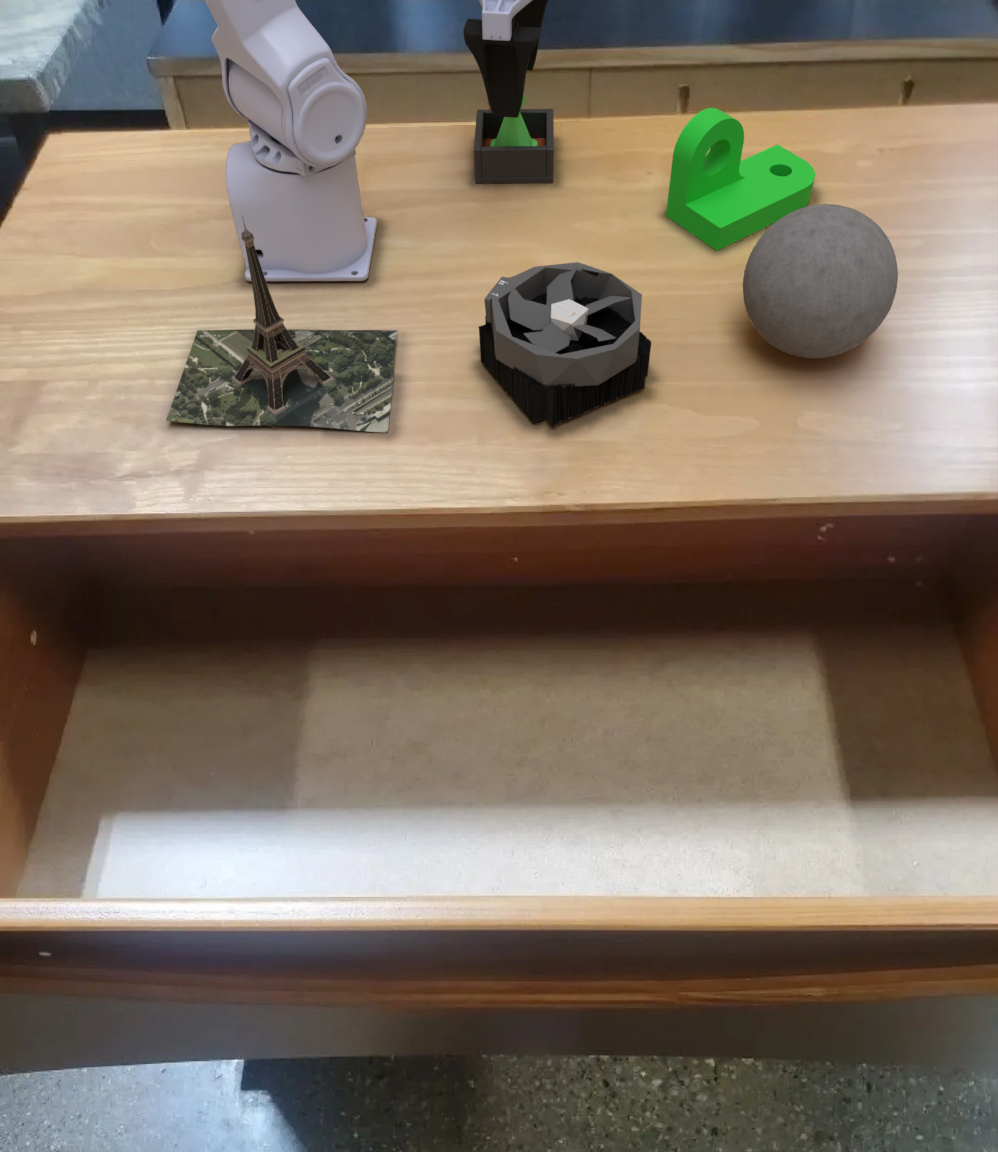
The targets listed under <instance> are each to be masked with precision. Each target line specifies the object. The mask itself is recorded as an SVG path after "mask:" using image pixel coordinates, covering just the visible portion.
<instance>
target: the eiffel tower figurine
mask: <svg viewBox="0 0 998 1152" xmlns="http://www.w3.org/2000/svg"><path fill="white" fill-rule="evenodd" d="M242 219H243V223H244V227H245V229H244V231H243V232H242V233H241V235H242V237H241V239H242V240H243V241H244V243H245V247H246V252H247V258H248V264H249V269H250V275H251V281H250V282H251V287H252V293H253V301H254V310H255V315H254V316H255V317H254V318H253V320H252V322H253V323H254V329H253V328H252V329H206V330H205V329H198V330H196V334H195V336H194V339H193V342H192V345H191V348H190V351H189V353H188V357H187V359H186V362H185V365H184V368H183V370H182V374H181V376H180V380H179V382H178V385H177V388H176V390H175V394H174V397H173V399H172V403H171V405H170V408H169V410H168V414H167V417H166V419H165V421H166V422H175V423H185V424H196V425H206V426H220V427H221V426H222V427H246V426H247V427H248V426H250V427H252V426H270V427H272V428H277V426H286V427H287V426H288V427H289V426H291V427H292V426H294V427H295V426H296V427H310V428H311V427H312V428H325V429H336V430H347V431H357V432H367V433H368V432H369V433H370V432H371V433H383V434H388V432H389V423H390V414H391V406H392V397H393V390H394V389H393V387H394V372H395V370H394V368H395V352H396V344H397V334H398V329H397V330H396V329H395V330H394V329H338V330H337V329H287V327H286V326H285V324H284V322H285V319H284V318H283V317H281V316H280V314H279V312H278V310H277V308H276V305H275V303H274V300H273V298H272V294H271V292H270V289H269V286H268V284H267V281H266V280H265V277H264V274H263V271H262V268H261V265H260V262H259V259H258V256H257V253H256V250H255V246H254V242H253V241H254V237H253V234H252V233H251V232H250V231H248V230H247V229H246V226H245V222H244V218H243V215H242Z"/></svg>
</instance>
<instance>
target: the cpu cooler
mask: <svg viewBox="0 0 998 1152" xmlns="http://www.w3.org/2000/svg"><path fill="white" fill-rule="evenodd" d="M483 299H484V307H485V308H484V309H485V316H484V319H485V321H484V322H485V324H482V325H480V326H478V334H479V352H480V363H482V365H483V366H484V367H485V369H487V371H488V372H489V373H490V375H491V376H492V377H493V378H494V379H495V380H496V382H497V383H498V384H499V385H500V386H501V387H502V389H503V390H504V391H505V392H506V393H507V394H508V395H509V396H510V398H511V399H512V400H513V402H514V404H516V405H517V407H519V409H520V410H521V411H522V412H523V413H524V414H525V415H526V417H527V418H528V419H529V420H530V421H531V423H532V424H534V423H538V422H541V421H544V420H546V421H547V422H548V424H549V425H550V427H551V428H554V427H556V426H559V425H560V424H561V423H562V424H563V423H566V422H567V421H569V420H570V419H571V420H573V419H576V418H578V417H579V416H582V415H585V414H586V413H589V412H592V411H594V410H596V409H598V408H601V407H603V406H605V404H606V405H607V404H611V403H613V402H615V401H617V400H618V399H619V400H620V399H623V398H625V397H628V396H630V395H632V394H634V393H637V392H639V391H642V390H645V385H646V384H645V383H646V378H647V377H648V374H649V366H650V358H651V348H652V340H650V339H649V338H648V337H647V335H645V334H644V333H643V331H641V318H642V300H643V294H642V293H641V292H639V291H638V290H636V289H635V288H633V287H632V286H631V285H629V284H628V283H626V282H625V281H623V280H622V279H620V278H619V277H618V276H616V275H615V274H613V273H611V272H608V271H605V270H601V269H599V268H598V267H597V268H596V267H593V266H592V265H591V266H590V265H588V264H585V263H581V262H578V261H577V262H568V263H567V262H566V263H557V264H556V263H555V264H548V265H539V266H533V267H530V268H528V269H526V270H524V271H522V272H520V273H517V274H516V275H513V276H510V277H507V276H501V277H500V278H499V279H498V281H497V282H496V283H495V284H494V286H493V287H492V288H491V289H490V290H489V292H488V294H487V295H486V296H485V297H484V298H483Z"/></svg>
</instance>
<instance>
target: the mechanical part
mask: <svg viewBox="0 0 998 1152" xmlns="http://www.w3.org/2000/svg"><path fill="white" fill-rule="evenodd" d="M744 143H745V131H744V127H743V125H742V123H741V122H740V121H739V120H737V119H736V118H735V117H732V116H731V115H729V114H727V113H726V112H724V111H723V110H720V109H719V108H716V107H707V108H704V109H702V110H701V111H698V113H696V114H694V116H692V118H691V119H690V120H688V121H687V123H686V124H685V125H684V127H683V128H682V130H681V132H680V133H679V136H678V138H677V140H676V141H675V145H674V149H673V152H672V160H671V167H670V168H671V169H670V178H669V185H668V194H667V202H666V203H667V204H666V212H665V216H666V217H667V218H668V219H669V220H671V221H672V222H674V223H676V224H677V225H678V226H680V227H681V228H683V230H686V231H687V232H689V233H690V234H691V235H693V236H694V237H696V238H697V239H698V240H700V241H701V242H703V243H704V244H706V245H707V246H708V247H710V248H712V249H713V250H714V251H716V252H717V251H719V250H722V249H723V248H726V247H727V246H729V245H732V244H734V243H736V242H738V241H740V240H743V239H744V238H746V237H748V236H750V235H752V234H754V233H756V232H759V231H760V230H761V231H762V230H763V229H765V228H767V227H770V226H772V225H773V224H774V223H775V222H777V221H778V220H779V219H781V218H782V217H784V216H786V215H787V214H789V213H791V212H794V211H796V210H798V209H801V208H804V207H807V206H808V204H809V203H810V199H811V197H812V191H813V188H814V183H815V178H816V171H815V169H814V167H813V166H812V165H811V164H810V163H809V162H808V161H807V160H805V159H804V158H802V157H800V156H798V155H797V154H795V153H793V152H791V151H790V150H788V149H786V148H785V147H784V146H781V145H780V144H775V145H773V146H770V147H768V148H766V149H764V150H762V151H759V152H757V153H755V154H753V155H750V156H748V157H746V158H744V159H742V155H743V148H744Z"/></svg>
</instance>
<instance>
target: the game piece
mask: <svg viewBox="0 0 998 1152" xmlns="http://www.w3.org/2000/svg"><path fill="white" fill-rule="evenodd" d="M526 104H527V101H526V95H525V93H524V94H523V100H522V105H521V109H523V107H524V106H525V105H526ZM493 146H537V141H536V140H534V139H532V138H531V137H530V135H529V132H528V130H527V127H526V125H525V123H524V120H523V118H522V115H521V113H520V112H519V115H518V117H517V118H514V117H504V119H503V122H502V125H501V127H500V130H499V133H498V135H497V138H496V139H494V140H492V141H491V146H490V147H493Z"/></svg>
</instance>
